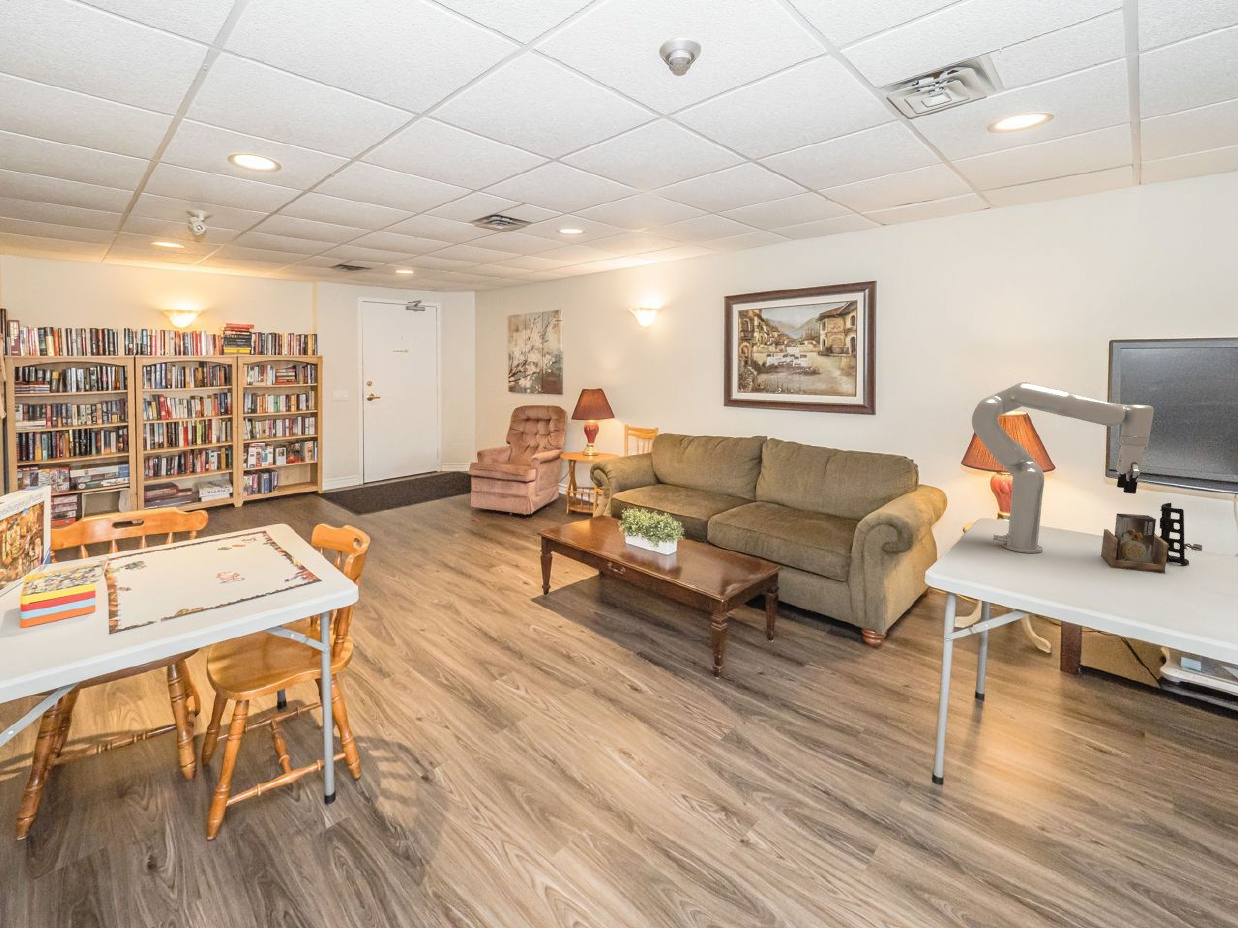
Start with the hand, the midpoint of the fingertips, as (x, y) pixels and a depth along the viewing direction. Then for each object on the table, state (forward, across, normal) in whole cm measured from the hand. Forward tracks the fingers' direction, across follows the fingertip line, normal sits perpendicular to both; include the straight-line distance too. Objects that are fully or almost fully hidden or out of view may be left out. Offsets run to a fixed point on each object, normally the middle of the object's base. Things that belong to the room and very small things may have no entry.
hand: (1125, 490), depth 207 cm
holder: (+25, -8, +17) cm, 31 cm away
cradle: (+25, +3, +4) cm, 26 cm away
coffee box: (+24, +3, +4) cm, 25 cm away
